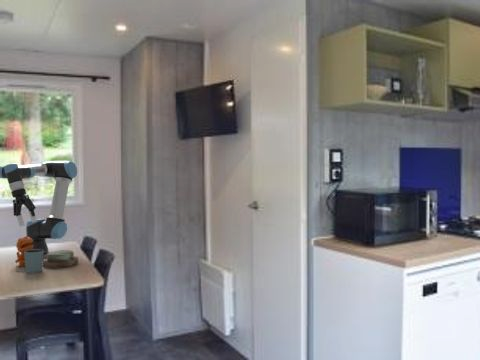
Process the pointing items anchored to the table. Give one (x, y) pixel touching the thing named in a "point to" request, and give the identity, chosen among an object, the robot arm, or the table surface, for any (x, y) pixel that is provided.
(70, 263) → the plinth
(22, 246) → the toy dinosaur
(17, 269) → the table surface
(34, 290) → the table surface
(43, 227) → the robot arm
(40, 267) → the teal tapered container
